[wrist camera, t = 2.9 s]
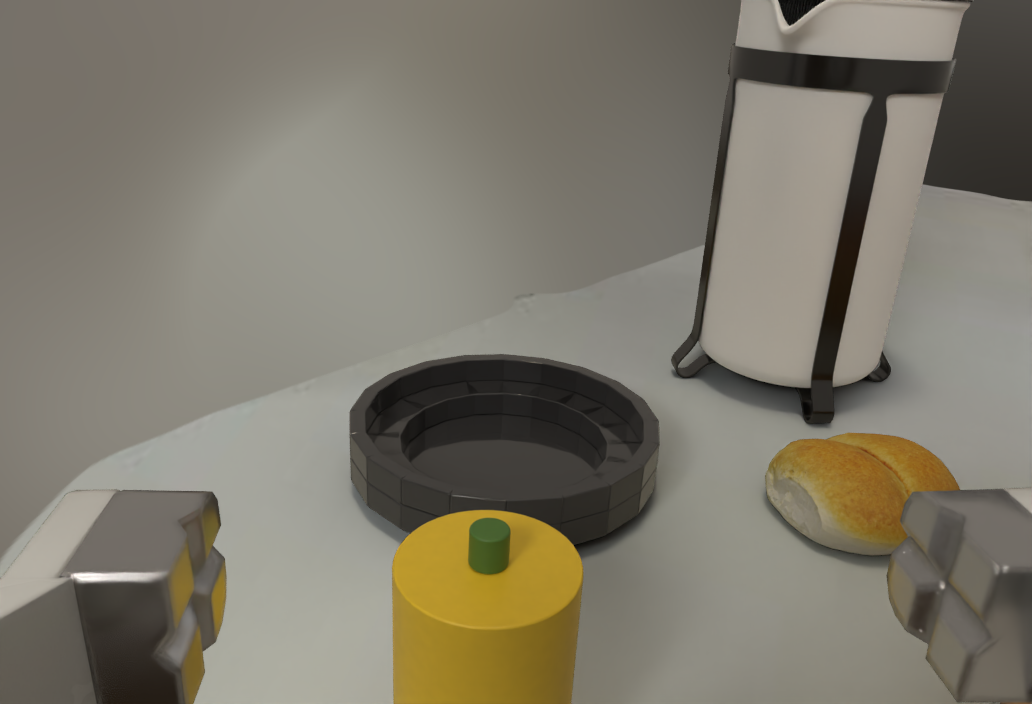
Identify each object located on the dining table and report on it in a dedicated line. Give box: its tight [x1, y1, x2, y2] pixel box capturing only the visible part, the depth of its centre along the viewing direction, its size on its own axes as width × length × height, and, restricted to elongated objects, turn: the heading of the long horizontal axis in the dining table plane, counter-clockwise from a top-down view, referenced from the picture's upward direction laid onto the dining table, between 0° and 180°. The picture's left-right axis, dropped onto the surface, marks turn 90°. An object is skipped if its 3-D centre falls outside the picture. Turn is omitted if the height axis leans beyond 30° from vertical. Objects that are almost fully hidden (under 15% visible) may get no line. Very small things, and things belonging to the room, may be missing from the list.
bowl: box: [350, 354, 660, 545], centre depth 44 cm, size 16×16×4 cm
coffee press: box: [671, 0, 974, 423], centre depth 54 cm, size 17×16×30 cm
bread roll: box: [765, 433, 960, 556], centre depth 42 cm, size 8×9×4 cm
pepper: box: [392, 510, 583, 704], centre depth 26 cm, size 6×6×9 cm
